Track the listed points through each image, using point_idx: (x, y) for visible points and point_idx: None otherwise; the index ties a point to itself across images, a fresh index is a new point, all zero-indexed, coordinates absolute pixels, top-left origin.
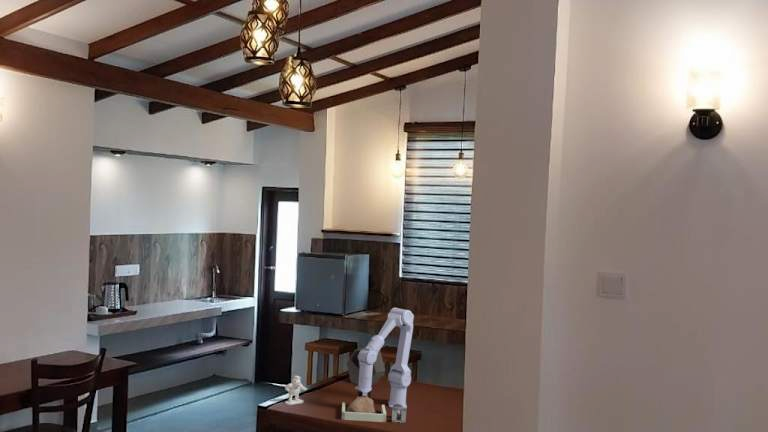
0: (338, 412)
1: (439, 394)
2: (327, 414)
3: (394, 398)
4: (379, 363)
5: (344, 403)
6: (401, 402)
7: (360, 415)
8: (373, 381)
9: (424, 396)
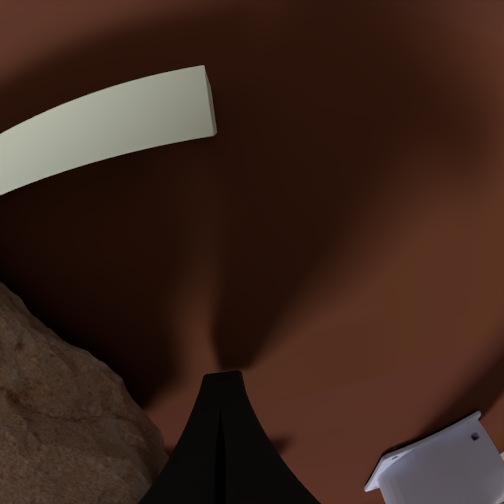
0: (28, 96)
1: (499, 447)
2: None
3: (403, 499)
4: None
5: (104, 143)
6: (383, 497)
7: None
8: None
9: (498, 439)
